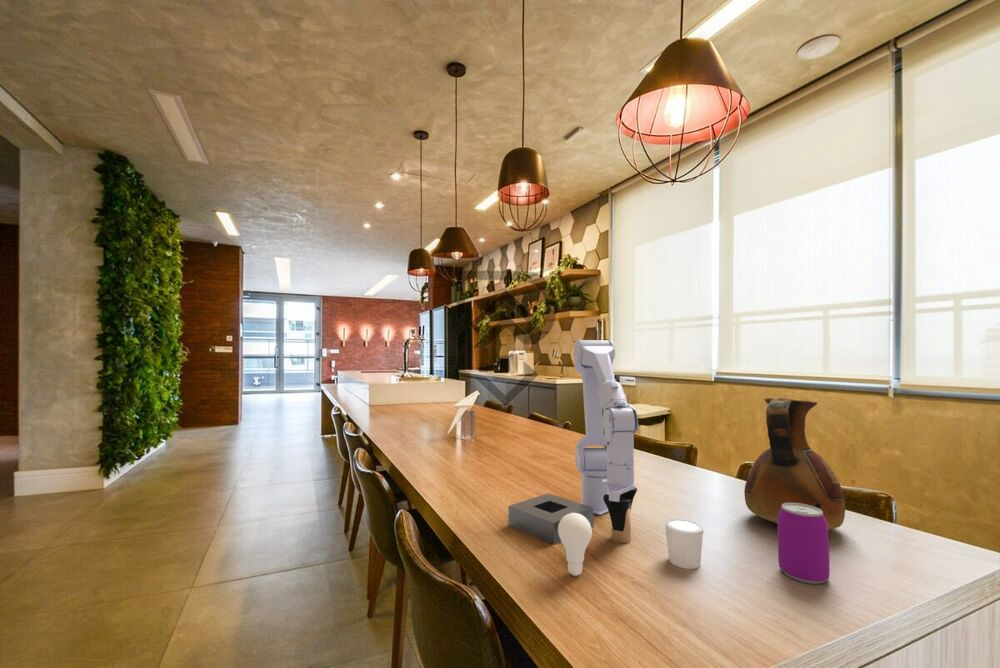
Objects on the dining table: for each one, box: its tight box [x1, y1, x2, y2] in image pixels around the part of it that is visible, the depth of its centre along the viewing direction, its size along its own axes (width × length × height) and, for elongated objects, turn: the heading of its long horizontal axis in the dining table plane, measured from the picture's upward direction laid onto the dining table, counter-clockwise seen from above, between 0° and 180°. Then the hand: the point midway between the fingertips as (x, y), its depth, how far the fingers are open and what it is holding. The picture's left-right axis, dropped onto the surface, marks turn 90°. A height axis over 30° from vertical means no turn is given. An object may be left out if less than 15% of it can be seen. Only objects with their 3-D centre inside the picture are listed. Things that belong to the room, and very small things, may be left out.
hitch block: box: [507, 493, 594, 545], centre depth 102 cm, size 14×14×4 cm
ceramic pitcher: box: [743, 397, 846, 531], centre depth 104 cm, size 20×20×30 cm
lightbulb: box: [558, 513, 593, 577], centre depth 80 cm, size 6×6×11 cm
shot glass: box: [664, 518, 704, 570], centre depth 85 cm, size 7×7×7 cm
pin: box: [611, 504, 632, 544], centre depth 95 cm, size 4×4×8 cm
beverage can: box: [777, 503, 831, 585], centre depth 80 cm, size 8×8×12 cm
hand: (621, 525), depth 95 cm, fingers open, 5 cm apart
